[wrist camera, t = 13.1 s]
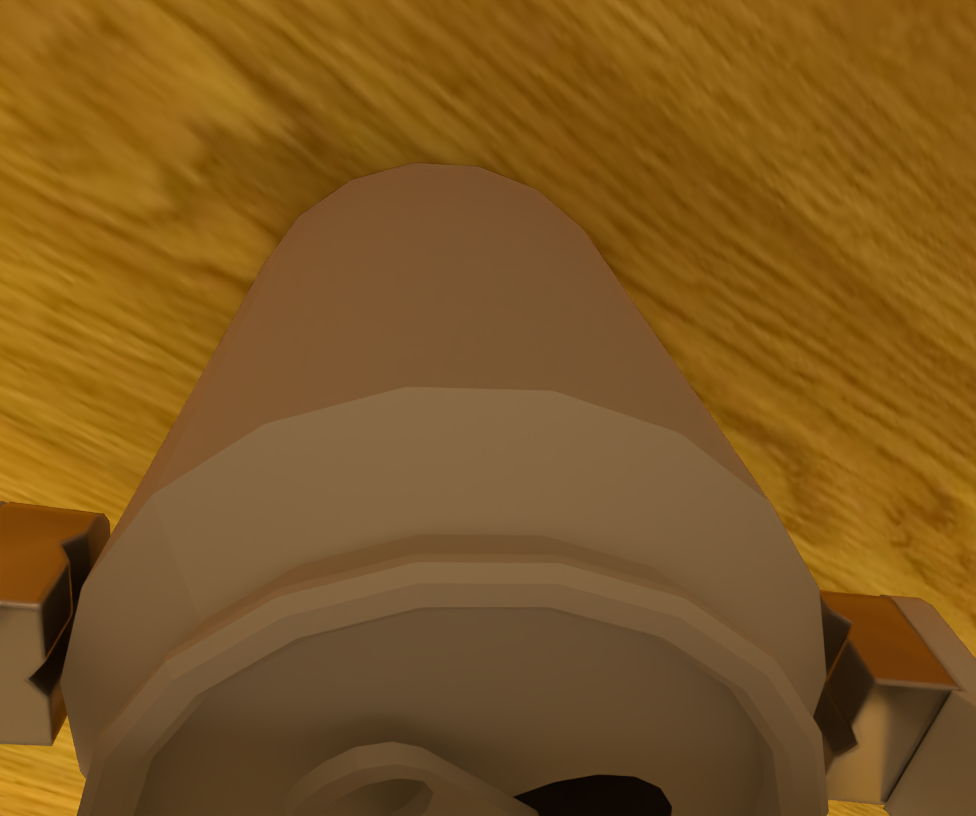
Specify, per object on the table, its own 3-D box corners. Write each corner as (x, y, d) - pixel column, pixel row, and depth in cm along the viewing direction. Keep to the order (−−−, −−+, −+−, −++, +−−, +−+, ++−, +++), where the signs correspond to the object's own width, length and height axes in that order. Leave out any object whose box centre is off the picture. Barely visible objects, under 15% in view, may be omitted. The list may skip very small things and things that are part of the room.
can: (428, 541, 20) (440, 1191, 9) (178, 327, 17) (-238, 912, 6) (681, 343, 18) (1070, 869, 7) (447, 65, 15) (518, 255, 4)
